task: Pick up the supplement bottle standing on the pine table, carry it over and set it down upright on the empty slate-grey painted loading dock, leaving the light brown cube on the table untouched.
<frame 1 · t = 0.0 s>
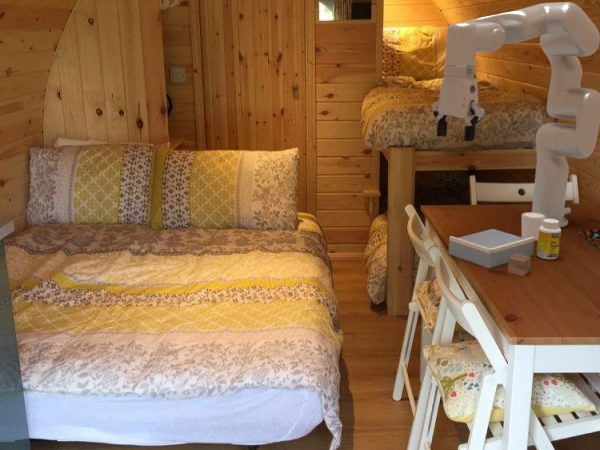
hand: (455, 138, 172), 31 cm above the table, tool pointing down, fingers open, 9 cm apart
light brown cube: (518, 272, 163), on the table
supplement bottle: (546, 257, 174), on the table
white cup: (531, 238, 190), on the table
dock: (490, 254, 176), on the table
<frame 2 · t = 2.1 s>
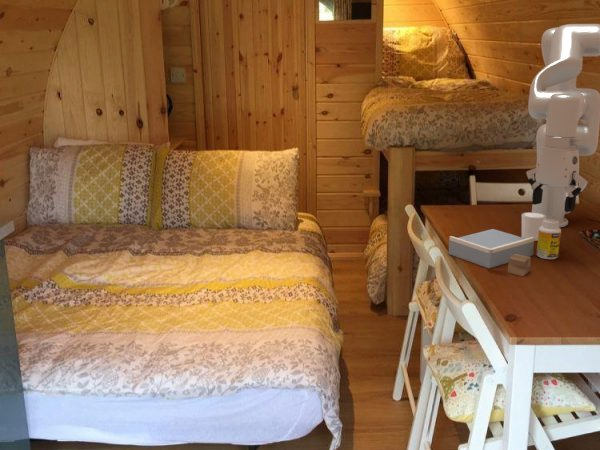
hand: (552, 207, 169), 14 cm above the table, tool pointing down, fingers open, 9 cm apart
nothing on the table moved.
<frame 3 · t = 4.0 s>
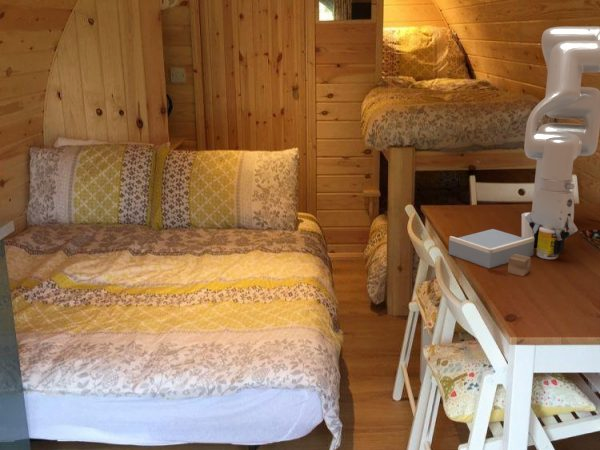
hand: (547, 249, 173), 2 cm above the table, tool pointing down, fingers closed on supplement bottle, 5 cm apart
supplement bottle: (546, 257, 174), on the table, touching gripper
everything else where it was.
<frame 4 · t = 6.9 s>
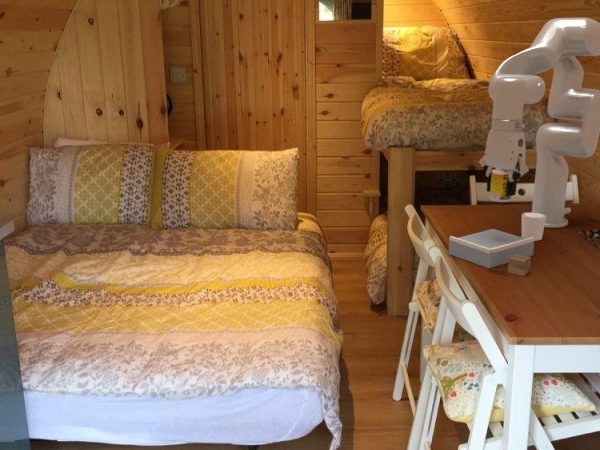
hand: (500, 192, 172), 17 cm above the table, tool pointing down, fingers closed on supplement bottle, 5 cm apart
supplement bottle: (500, 200, 173), point 15 cm above the table, touching gripper
everything else where it was.
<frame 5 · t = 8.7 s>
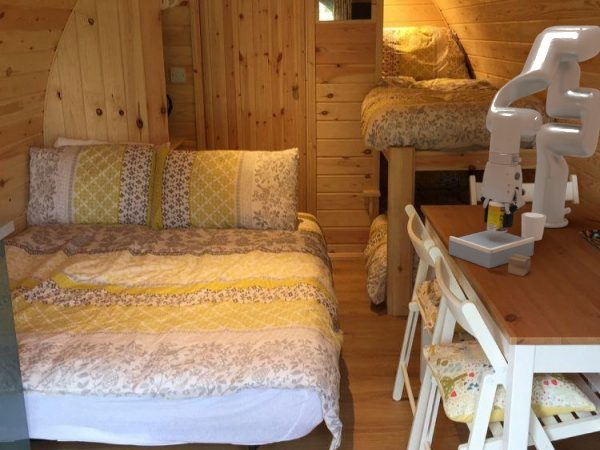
hand: (497, 223, 175), 8 cm above the table, tool pointing down, fingers closed on supplement bottle, 5 cm apart
supplement bottle: (497, 231, 175), point 6 cm above the table, touching gripper
everything else where it was.
when the fingers open (7 cm above the table, at t = 10.0 s): supplement bottle stays where it is, resting on dock.
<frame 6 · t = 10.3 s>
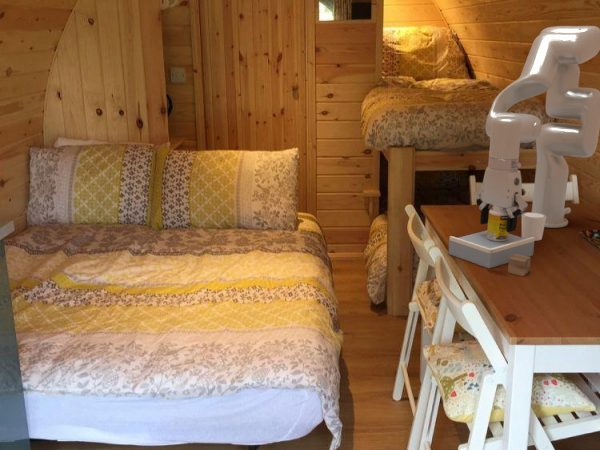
hand: (497, 227, 175), 8 cm above the table, tool pointing down, fingers open, 8 cm apart
supplement bottle: (496, 239, 176), point 4 cm above the table, touching dock
everything else where it was.
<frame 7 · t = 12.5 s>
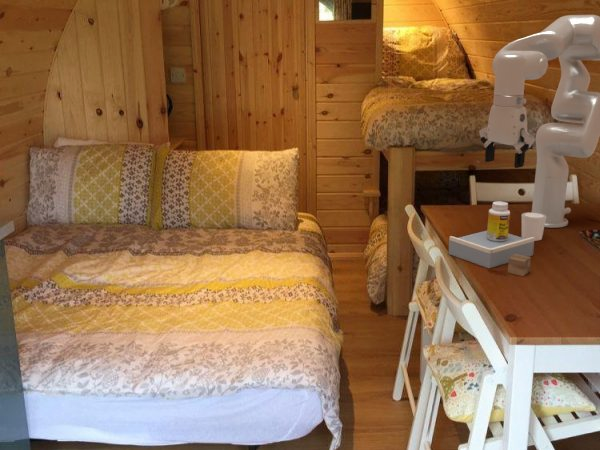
hand: (503, 164, 176), 24 cm above the table, tool pointing down, fingers open, 9 cm apart
nothing on the table moved.
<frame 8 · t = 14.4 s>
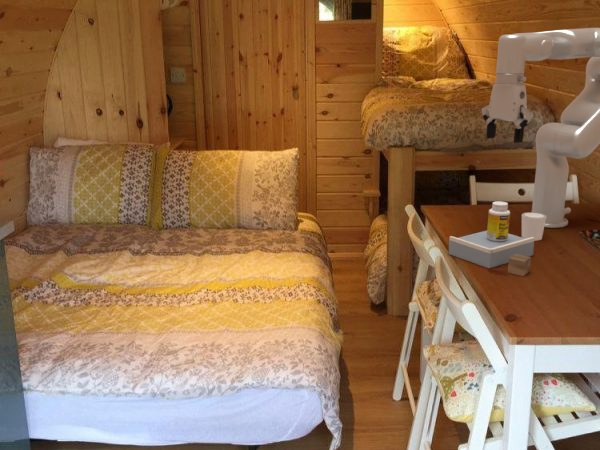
hand: (504, 140, 186), 28 cm above the table, tool pointing down, fingers open, 9 cm apart
nothing on the table moved.
at the end: supplement bottle inside the target area on the dock (2.2 cm from its centre), point 3.8 cm above the dock's base; supplement bottle tilted 0°; the gripper is holding nothing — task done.
